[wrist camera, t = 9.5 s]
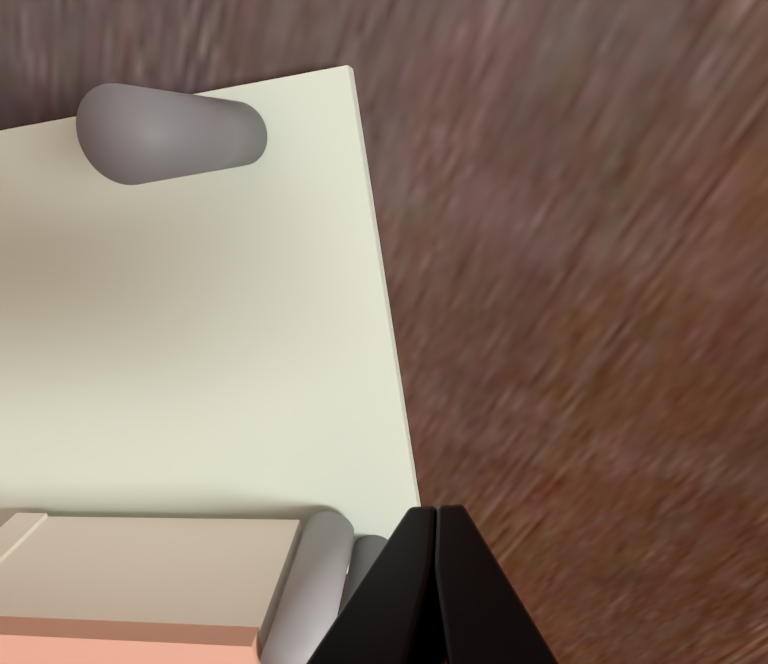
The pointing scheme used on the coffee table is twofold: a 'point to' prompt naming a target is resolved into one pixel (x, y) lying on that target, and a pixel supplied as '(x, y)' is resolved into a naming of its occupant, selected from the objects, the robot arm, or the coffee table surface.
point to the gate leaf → (169, 589)
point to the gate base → (200, 313)
